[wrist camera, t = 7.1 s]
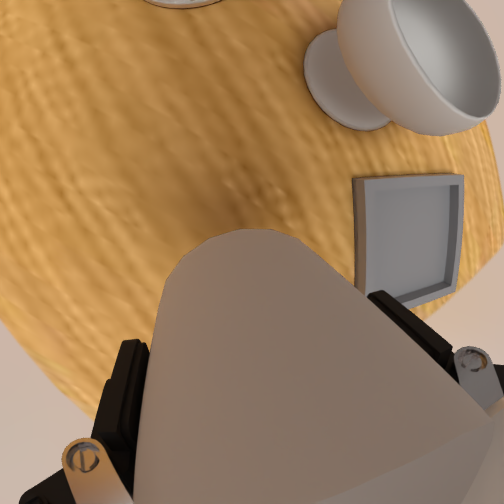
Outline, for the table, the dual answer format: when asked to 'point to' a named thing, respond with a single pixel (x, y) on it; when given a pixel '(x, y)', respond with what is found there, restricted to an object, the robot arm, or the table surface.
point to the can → (294, 390)
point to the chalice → (405, 66)
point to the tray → (408, 235)
